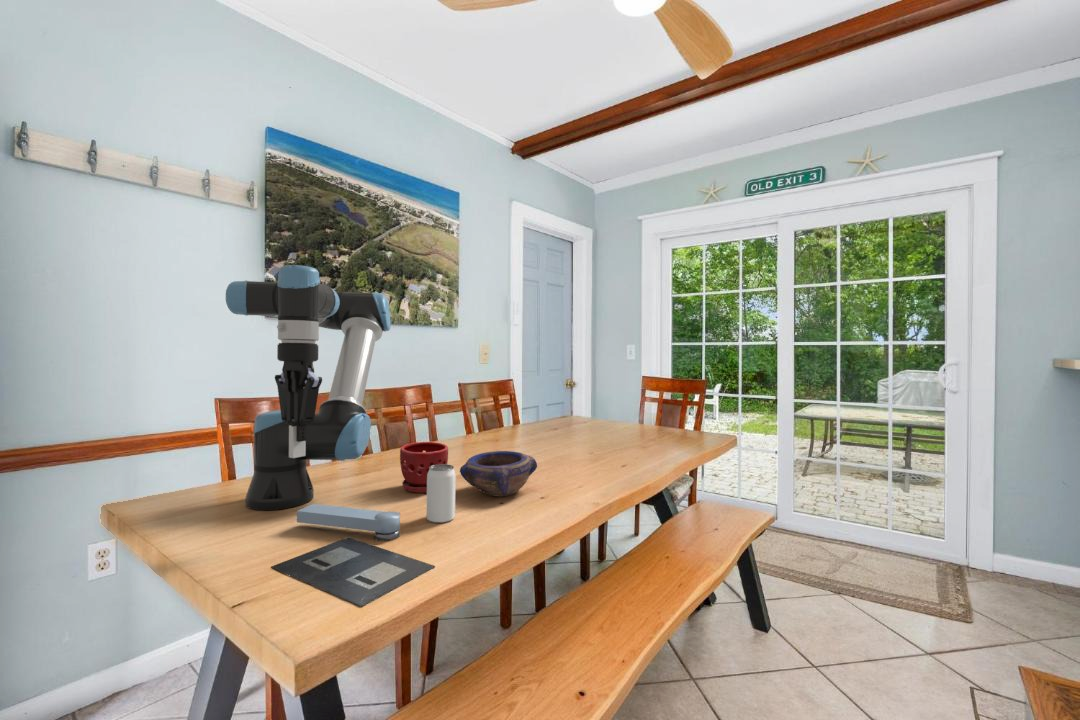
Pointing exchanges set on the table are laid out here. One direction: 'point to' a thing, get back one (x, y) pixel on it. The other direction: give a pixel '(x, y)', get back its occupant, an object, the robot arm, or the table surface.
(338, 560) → the label panel
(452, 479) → the can
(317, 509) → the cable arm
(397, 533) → the arm pivot
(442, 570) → the table surface
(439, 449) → the plant pot
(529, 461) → the bowl
